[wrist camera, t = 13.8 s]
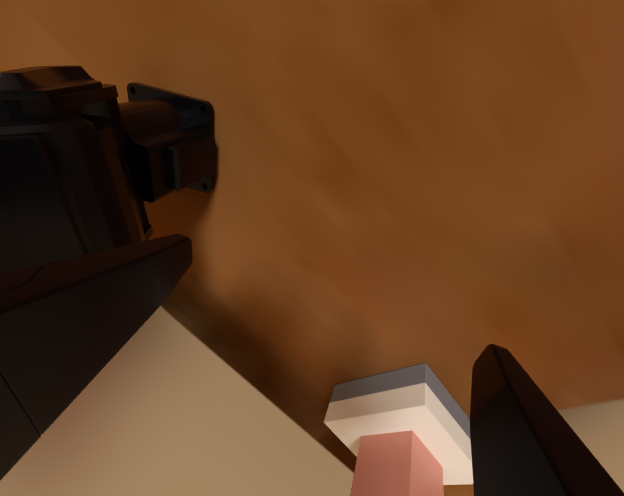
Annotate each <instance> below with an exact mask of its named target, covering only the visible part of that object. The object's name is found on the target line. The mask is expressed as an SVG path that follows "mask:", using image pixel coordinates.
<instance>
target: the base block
mask: <svg viewBox="0 0 624 496" xmlns="http://www.w3.org/2000/svg"><path fill="white" fill-rule="evenodd" d="M324 423H325V424H326V425H327V426H328V427H329V428H330V430H331V431H332V432H333V433H334V434H335V435H336V436H337V437H338V438H339V439H340V440H341V441H342V442H343V443H344V444H345V445H346V446H347V447H348V448H349V450H350V451H351V452H352V453H353V454H354V455H355V456H356V457H357V455H358V450H359V444H360V439H361V436H366V435H375V434H384V433H393V432H402V431H411V430H412V431H413V432H414V433H415V434H416V435H417V437H418V438H419V439H420V440H421V441H422V443H423V444H424V445H425V446H426V448H427V449H428V450H429V451H430V452H431V454H432V455H433V456H434V457H435V459H436V460H437V461H438V462H439V463H440V465H441V466H442V467H443V485H455V484H473V471H472V456H471V440H470V419H469V418H468V417H467V416H466V414H465V413H464V412H463V410H462V409H461V408H460V407H459V405H458V404H457V403H456V401H455V400H454V399H453V398H452V396H451V395H450V394H449V392H448V391H447V390H446V389H445V387H444V386H443V385H442V383H441V382H440V381H439V379H438V378H437V377H436V376H435V374H434V373H433V372H432V370H431V369H430V368H429V367H428V365H427V364H426V363H422V364H418V365H414V366H410V367H406V368H402V369H398V370H394V371H390V372H386V373H382V374H378V375H374V376H370V377H366V378H362V379H358V380H354V381H349V382H345V383H341V384H337V385H334V389H333V392H332V396H331V399H330V402H329V406H328V409H327V413H326V416H325V420H324Z"/></svg>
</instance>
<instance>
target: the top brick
mask: <svg viewBox="0 0 624 496" xmlns="http://www.w3.org/2000/svg"><path fill="white" fill-rule="evenodd" d="M350 496H444V490H443V467H442V466H441V465H440V463H439V462H438V461H437V460H436V459H435V457H434V456H433V455H432V454H431V452H430V451H429V450H428V449H427V448H426V446H425V445H424V444H423V443H422V441H421V440H420V439H419V438H418V437H417V435H416V434H415V433H414V432H413V431H412V430H411V431H402V432H393V433H384V434H375V435H366V436H361V439H360V444H359V450H358V455H357V461H356V466H355V472H354V477H353V483H352V488H351V494H350Z"/></svg>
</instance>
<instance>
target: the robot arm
mask: <svg viewBox="0 0 624 496" xmlns="http://www.w3.org/2000/svg"><path fill="white" fill-rule="evenodd" d="M134 89H136V92H135V90H134ZM127 92H128V99H129V102H126V103H119V104H118V102H117V98H116V97H118V93H117V89H116V85H109V84H102V83H101V81H95V80H94V79H93V78H91V77H90V76H89V75H88V74H87V72H86V71H85V70H84V69H83V68H82V67H81V66H39V67H28V68H22V69H16V70H9V71H3V72H0V480H1V479H2V478H3V477H4V476H5V475H6V474H7V473H8V472H9V471H10V470H11V468H12V467H13V466H14V465H15V464H16V463H17V462H18V461H19V460H20V459H21V457H22V456H23V455H24V454H25V453H26V452H27V451H28V450H29V449H30V447H32V446H33V444H34V443H35V442H36V441H37V440H38V439H39V438H40V437H41V435H42V434H43V433H44V432H45V431H46V430H47V429H48V428H49V427H50V426H51V424H52V423H53V422H54V421H55V420H56V419H57V418H58V417H59V416H60V415H61V414H62V412H63V411H64V410H65V409H66V408H67V407H68V406H69V405H70V404H71V403H72V402H73V400H74V399H75V398H76V397H77V396H78V395H79V394H80V393H81V391H83V389H84V388H85V387H86V386H87V385H88V384H89V383H90V382H91V381H92V380H93V379H94V377H95V376H96V375H97V374H98V373H99V372H100V371H101V370H102V369H103V368H104V367H105V365H106V364H107V363H108V362H109V361H110V360H111V359H112V358H113V357H114V356H115V355H116V353H117V352H118V351H119V350H120V349H121V348H122V347H123V346H124V345H125V344H126V343H127V341H128V340H129V339H130V338H131V337H132V336H133V335H134V334H135V333H136V332H137V331H138V329H139V328H140V327H141V326H142V325H143V324H144V323H145V321H147V320H148V319H149V317H150V316H151V315H152V314H153V313H154V312H155V311H156V310H157V309H158V308H159V306H160V305H161V304H162V303H163V302H164V300H165V299H166V298H167V297H168V295H169V294H170V293H171V291H172V290H173V288H174V287H175V286H176V284H177V283H178V282H179V280H180V279H181V278H182V276H183V275H184V274H185V272H186V271H187V269H188V268H189V267H190V265H191V263H192V241H191V239H190V238H189V237H187V236H184V235H181V234H174V235H169V236H165V237H160V238H156V239H152V240H148V239H149V238H150V236H151V235H152V234H153V230H152V227H151V225H150V224H149V222H148V218H147V214H146V210H145V206H144V201H148V202H152V203H153V202H155V201H156V200H158V199H160V198H162V197H164V196H166V195H168V194H170V193H172V192H174V191H180V190H182V189H184V188H186V187H189V188H192V189H195V190H198V191H202V192H205V193H208V192H210V191H212V190H213V188H214V171H215V138H214V122H213V107H212V105H211V104H210V103H209V102H207V101H204V100H200V99H197V98H193V97H189V96H185V95H182V94H178V93H174V92H170V91H167V90H163V89H159V88H155V87H151V86H148V85H144V84H140V83H129V84H128V86H127ZM204 107H206V109H207V112H205V111H204ZM205 184H206V185H207V186H208V188H207V187H206V186H205ZM470 440H471V456H472V471H473V487H474V496H624V493H623V491H622V490H621V489H620V488H619V486H618V485H617V484H616V483H615V482H614V480H613V479H612V478H611V477H610V475H609V474H608V473H607V472H606V470H605V469H604V468H603V467H602V466H601V464H600V463H599V462H598V460H597V459H596V458H595V457H594V456H593V454H592V453H591V452H590V451H589V449H588V448H587V447H586V446H585V445H584V443H583V442H582V441H581V439H580V438H579V437H578V436H577V435H576V433H575V432H574V431H573V430H572V428H571V427H570V426H569V425H568V423H567V422H566V421H565V420H564V419H563V417H562V416H561V415H560V414H559V412H558V411H557V410H556V409H555V407H554V406H553V405H552V404H551V402H550V401H549V400H548V399H547V397H546V396H545V395H544V394H543V392H542V391H541V390H540V389H539V388H538V386H537V385H536V384H535V383H534V381H533V380H532V379H531V378H530V376H529V375H528V374H527V373H526V371H525V370H524V369H523V368H522V366H521V365H520V364H519V363H518V362H517V360H516V359H515V358H514V357H513V355H512V354H511V353H510V352H509V351H508V350H507V349H506V348H503V347H500V346H497V345H495V344H489V345H488V346H487V347H486V348H485V349H484V351H483V352H482V353H481V355H480V356H479V357H478V359H477V360H476V361H475V363H474V366H473V370H472V388H471V406H470Z"/></svg>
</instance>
